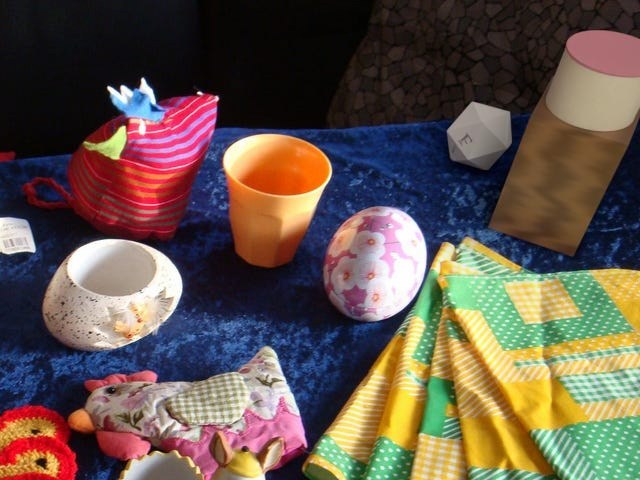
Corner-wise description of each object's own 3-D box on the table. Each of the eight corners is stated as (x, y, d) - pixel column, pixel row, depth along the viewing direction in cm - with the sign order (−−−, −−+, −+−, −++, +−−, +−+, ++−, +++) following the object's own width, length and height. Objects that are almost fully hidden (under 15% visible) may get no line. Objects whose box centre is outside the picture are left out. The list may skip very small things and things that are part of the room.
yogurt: (642, 100, 100) (669, 44, 95) (625, 141, 94) (654, 84, 89) (555, 77, 104) (577, 22, 99) (534, 115, 98) (556, 58, 93)
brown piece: (590, 213, 113) (646, 100, 100) (571, 259, 107) (628, 144, 94) (509, 187, 117) (553, 75, 104) (486, 230, 110) (530, 116, 98)
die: (433, 145, 125) (435, 117, 115) (487, 110, 123) (493, 79, 114) (466, 189, 122) (470, 165, 113) (521, 155, 121) (530, 127, 111)
